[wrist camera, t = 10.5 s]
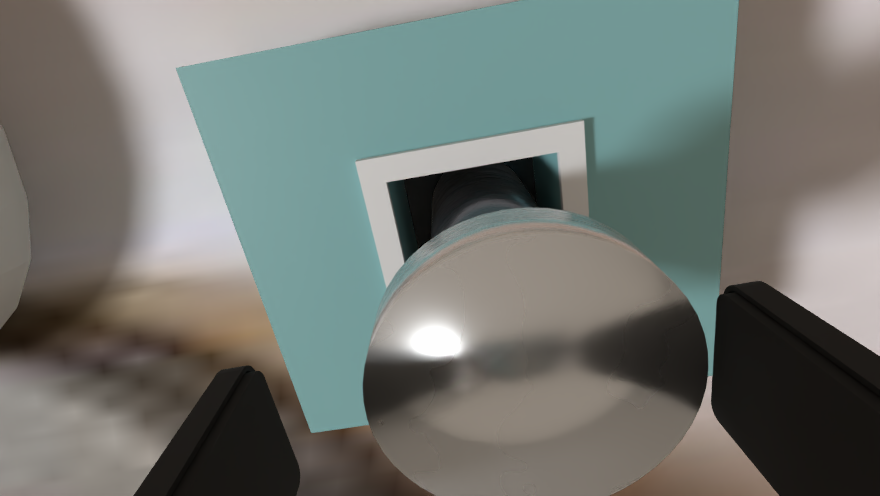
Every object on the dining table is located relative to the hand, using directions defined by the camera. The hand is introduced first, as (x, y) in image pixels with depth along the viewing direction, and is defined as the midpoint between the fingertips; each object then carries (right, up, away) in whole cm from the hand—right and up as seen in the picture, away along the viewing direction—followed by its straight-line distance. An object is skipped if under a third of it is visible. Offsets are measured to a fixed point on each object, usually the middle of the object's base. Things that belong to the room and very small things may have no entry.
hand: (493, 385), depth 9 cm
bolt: (+1, +5, +10) cm, 11 cm away
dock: (0, +5, +10) cm, 11 cm away
